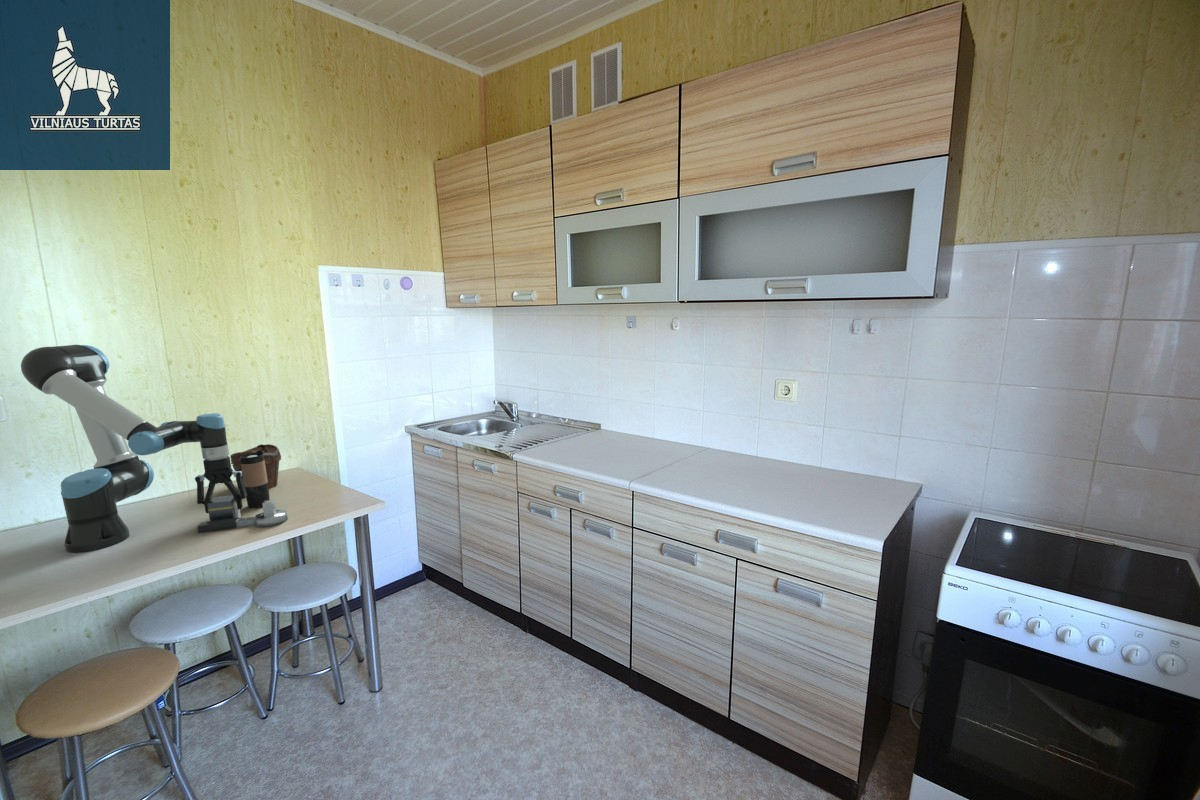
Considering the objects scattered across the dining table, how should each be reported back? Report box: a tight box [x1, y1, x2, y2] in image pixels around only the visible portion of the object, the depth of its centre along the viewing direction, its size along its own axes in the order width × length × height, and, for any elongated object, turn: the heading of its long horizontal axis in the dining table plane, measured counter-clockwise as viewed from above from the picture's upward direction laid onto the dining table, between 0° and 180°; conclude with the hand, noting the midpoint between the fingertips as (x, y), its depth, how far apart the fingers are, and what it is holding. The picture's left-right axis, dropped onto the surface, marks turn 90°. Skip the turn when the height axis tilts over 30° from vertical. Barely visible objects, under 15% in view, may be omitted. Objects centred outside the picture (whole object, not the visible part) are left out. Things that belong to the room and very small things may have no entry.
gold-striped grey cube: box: [207, 494, 236, 521], centre depth 183 cm, size 7×7×8 cm
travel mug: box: [240, 453, 271, 510], centre depth 196 cm, size 8×8×20 cm
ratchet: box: [197, 499, 289, 534], centre depth 178 cm, size 26×10×8 cm, turn 109°
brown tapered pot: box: [229, 443, 282, 490], centre depth 219 cm, size 18×20×18 cm
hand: (225, 519), depth 184 cm, fingers closed on gold-striped grey cube, 7 cm apart
